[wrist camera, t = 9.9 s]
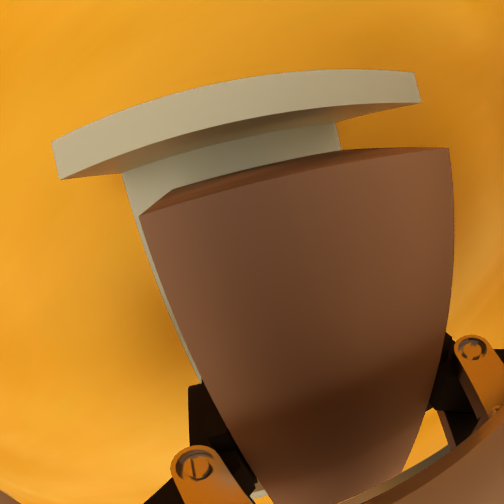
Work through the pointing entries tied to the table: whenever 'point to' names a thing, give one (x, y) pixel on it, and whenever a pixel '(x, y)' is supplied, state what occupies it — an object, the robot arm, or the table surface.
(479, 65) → the table surface
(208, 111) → the peg frame
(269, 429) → the brown rectangular block
